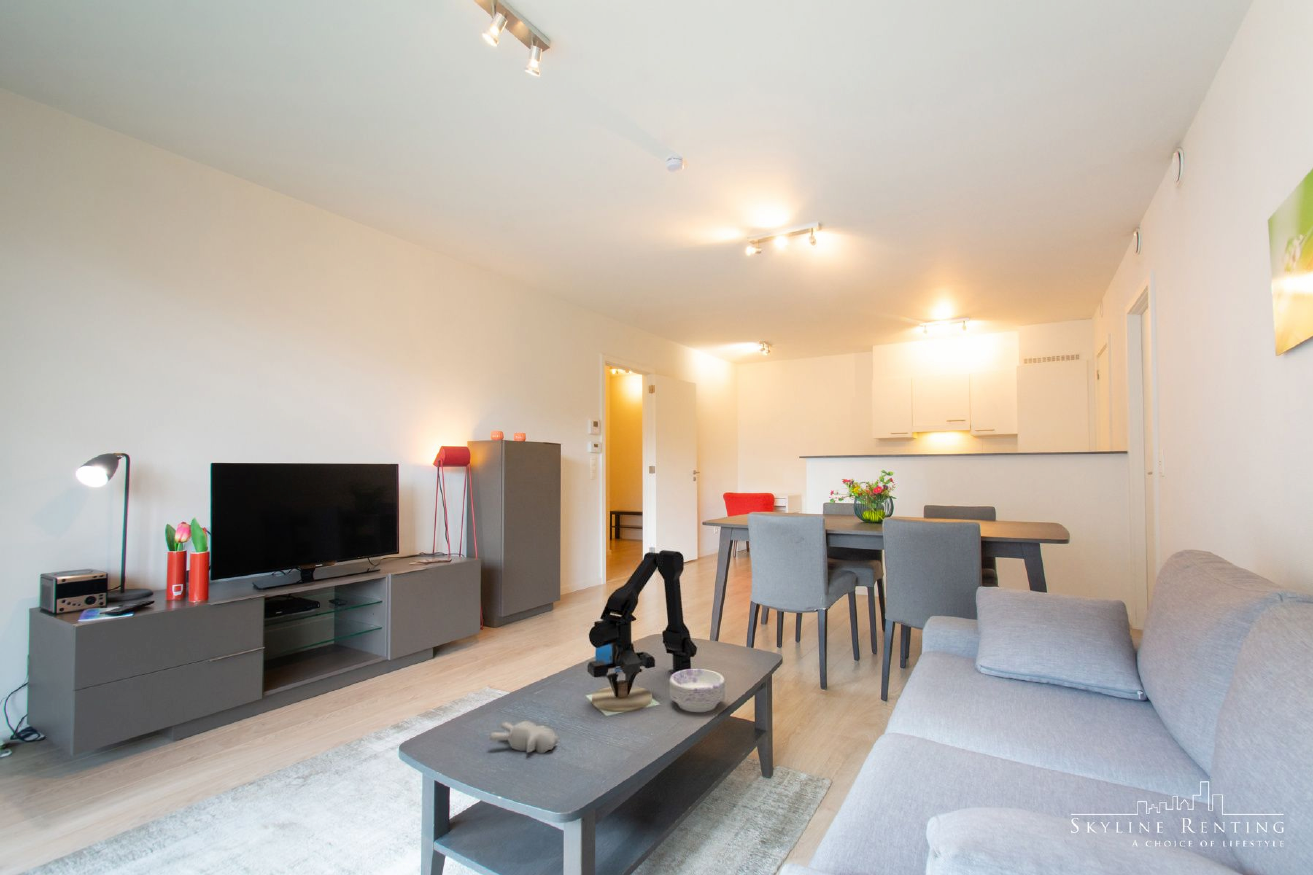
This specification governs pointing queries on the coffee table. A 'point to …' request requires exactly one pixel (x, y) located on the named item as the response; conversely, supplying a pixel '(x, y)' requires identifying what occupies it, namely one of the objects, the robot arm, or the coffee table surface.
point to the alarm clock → (604, 654)
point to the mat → (621, 712)
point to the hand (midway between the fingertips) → (621, 695)
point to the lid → (622, 698)
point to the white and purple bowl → (697, 689)
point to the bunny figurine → (527, 736)
